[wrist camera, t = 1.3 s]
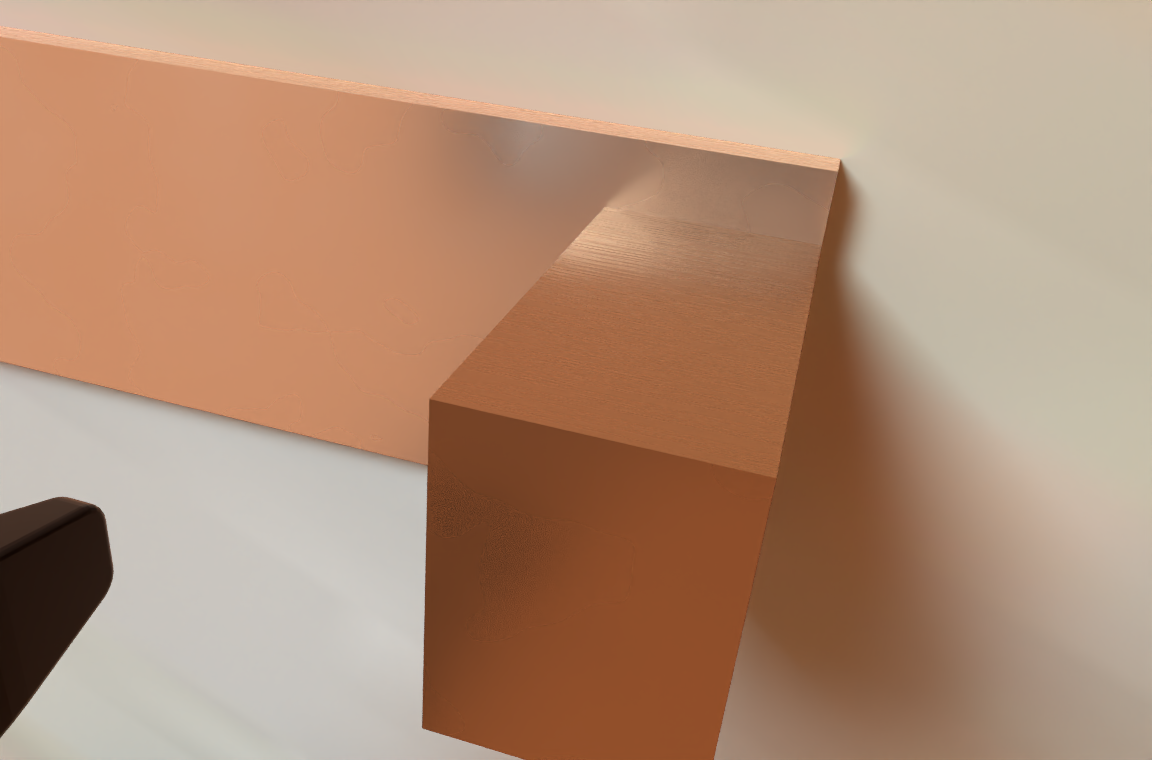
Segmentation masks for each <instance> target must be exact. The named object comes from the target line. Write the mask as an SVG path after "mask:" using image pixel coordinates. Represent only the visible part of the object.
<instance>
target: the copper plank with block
mask: <svg viewBox="0 0 1152 760" xmlns="http://www.w3.org/2000/svg"><path fill="white" fill-rule="evenodd" d="M839 164H840V159H838V158H832V157H825V156H819V155H813V154H806V153H800V152H794V151H787V150H781V149H775V148H768V147H762V146H756V145H749V144H743V143H737V142H730V141H724V140H718V139H711V138H705V137H699V136H692V135H686V134H680V133H674V132H667V131H661V130H655V129H648V128H642V127H636V126H629V125H623V124H617V123H610V122H604V121H598V120H591V119H585V118H579V117H572V116H566V115H560V114H553V113H547V112H541V111H534V110H528V109H522V108H515V107H509V106H503V105H497V104H490V103H484V102H478V101H471V100H465V99H459V98H452V97H446V96H440V95H433V94H427V93H421V92H414V91H408V90H402V89H395V88H389V87H383V86H376V85H370V84H364V83H357V82H351V81H345V80H338V79H332V78H326V77H319V76H313V75H307V74H301V73H294V72H288V71H282V70H275V69H269V68H263V67H256V66H250V65H244V64H237V63H231V62H225V61H218V60H212V59H206V58H199V57H193V56H187V55H180V54H174V53H168V52H161V51H155V50H149V49H142V48H136V47H130V46H124V45H117V44H111V43H105V42H98V41H92V40H86V39H79V38H73V37H67V36H60V35H54V34H48V33H41V32H35V31H29V30H22V29H16V28H10V27H3V26H0V361H2V362H6V363H10V364H14V365H18V366H22V367H26V368H31V369H35V370H39V371H43V372H47V373H51V374H55V375H59V376H63V377H67V378H72V379H76V380H80V381H84V382H88V383H92V384H96V385H100V386H104V387H108V388H113V389H117V390H121V391H125V392H129V393H133V394H137V395H141V396H145V397H149V398H154V399H158V400H162V401H166V402H170V403H174V404H178V405H182V406H186V407H190V408H195V409H199V410H203V411H207V412H211V413H215V414H219V415H223V416H227V417H232V418H236V419H240V420H244V421H248V422H252V423H256V424H260V425H264V426H268V427H273V428H277V429H281V430H285V431H289V432H293V433H297V434H301V435H305V436H309V437H314V438H318V439H322V440H326V441H330V442H334V443H338V444H342V445H346V446H350V447H355V448H359V449H363V450H367V451H371V452H375V453H379V454H383V455H387V456H391V457H396V458H400V459H404V460H408V461H412V462H416V463H420V464H424V465H428V479H427V527H426V574H425V622H424V670H423V717H422V728H423V729H426V730H430V731H433V732H436V733H440V734H443V735H446V736H449V737H453V738H456V739H459V740H462V741H466V742H469V743H472V744H476V745H479V746H482V747H485V748H489V749H492V750H495V751H499V752H502V753H505V754H508V755H512V756H515V757H518V758H522V759H525V760H714V755H715V751H716V746H717V742H718V737H719V733H720V728H721V724H722V719H723V715H724V711H725V706H726V702H727V697H728V693H729V688H730V684H731V679H732V675H733V670H734V666H735V662H736V657H737V653H738V648H739V644H740V639H741V635H742V630H743V626H744V621H745V617H746V612H747V608H748V604H749V599H750V595H751V590H752V586H753V581H754V577H755V572H756V568H757V563H758V559H759V555H760V550H761V546H762V541H763V537H764V532H765V528H766V523H767V519H768V514H769V510H770V506H771V501H772V497H773V492H774V488H775V483H776V479H777V474H778V469H779V463H780V458H781V453H782V448H783V443H784V438H785V433H786V427H787V422H788V417H789V412H790V407H791V402H792V396H793V391H794V386H795V381H796V376H797V371H798V366H799V360H800V355H801V350H802V345H803V340H804V335H805V330H806V324H807V319H808V314H809V309H810V304H811V299H812V294H813V288H814V283H815V278H816V273H817V268H818V263H819V257H820V252H821V247H822V242H823V238H824V233H825V229H826V224H827V220H828V215H829V211H830V206H831V202H832V197H833V193H834V188H835V184H836V179H837V174H838V170H839Z"/></svg>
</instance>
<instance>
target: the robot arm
mask: <svg viewBox="0 0 1152 760" xmlns="http://www.w3.org/2000/svg"><path fill="white" fill-rule="evenodd" d="M113 572H114V571H113V562H112V556H111V550H110V543H109V537H108V531H107V525H106V519H105V515H104V513H103V512H102V511H101V509H100V508H99V507H97V506H96V505H93V504H90V503H87V502H83V501H79V500H76V499H72V498H68V497H56V498H52V499H49V500H46V501H42V502H39V503H36V504H32V505H29V506H26V507H22V508H19V509H16V510H12V511H9V512H6V513H3V514H0V738H1V737H2V735H3V734H4V733H5V732H6V731H7V729H8V728H9V727H10V726H11V725H12V723H13V722H14V721H15V720H16V718H17V717H18V716H19V714H20V713H21V712H22V710H23V709H24V708H25V706H26V705H27V704H28V702H29V701H30V700H31V698H32V697H33V696H34V694H35V693H36V692H37V690H38V689H39V687H40V686H41V685H42V683H43V682H44V680H45V679H46V678H47V676H48V675H49V673H50V672H51V671H52V669H53V668H54V667H55V665H56V664H57V662H58V661H59V660H60V658H61V657H62V655H63V654H64V653H65V651H66V650H67V649H68V647H69V646H70V644H71V643H72V642H73V640H74V639H75V637H76V636H77V635H78V633H79V632H80V630H81V629H82V628H83V626H84V625H85V624H86V622H87V621H88V619H89V618H90V617H91V615H92V614H93V612H94V611H95V610H96V608H97V607H98V606H99V604H100V603H101V601H102V600H103V599H104V597H105V596H106V594H107V592H108V590H109V588H110V586H111V582H112V579H113Z"/></svg>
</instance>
